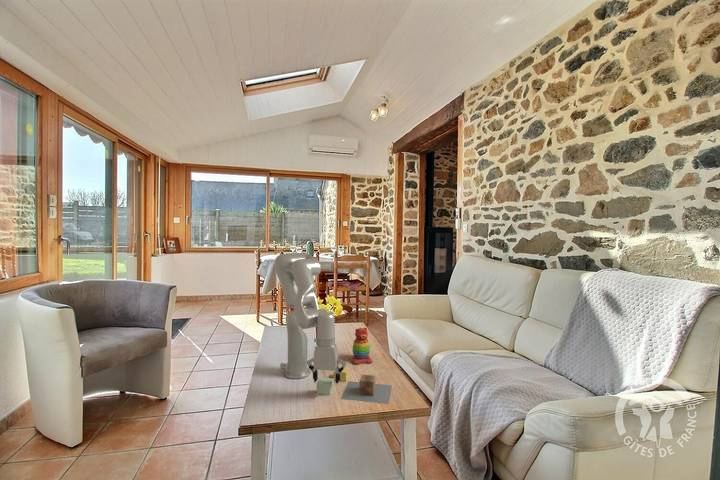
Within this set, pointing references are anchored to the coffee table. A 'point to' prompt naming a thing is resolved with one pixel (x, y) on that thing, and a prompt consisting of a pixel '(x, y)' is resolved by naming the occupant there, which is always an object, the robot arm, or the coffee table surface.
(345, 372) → the ochre block
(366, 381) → the walnut base block
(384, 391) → the slate base board
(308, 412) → the coffee table surface
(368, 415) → the coffee table surface
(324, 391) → the sage-green block
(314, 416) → the coffee table surface
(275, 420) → the coffee table surface
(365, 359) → the stacking bear
